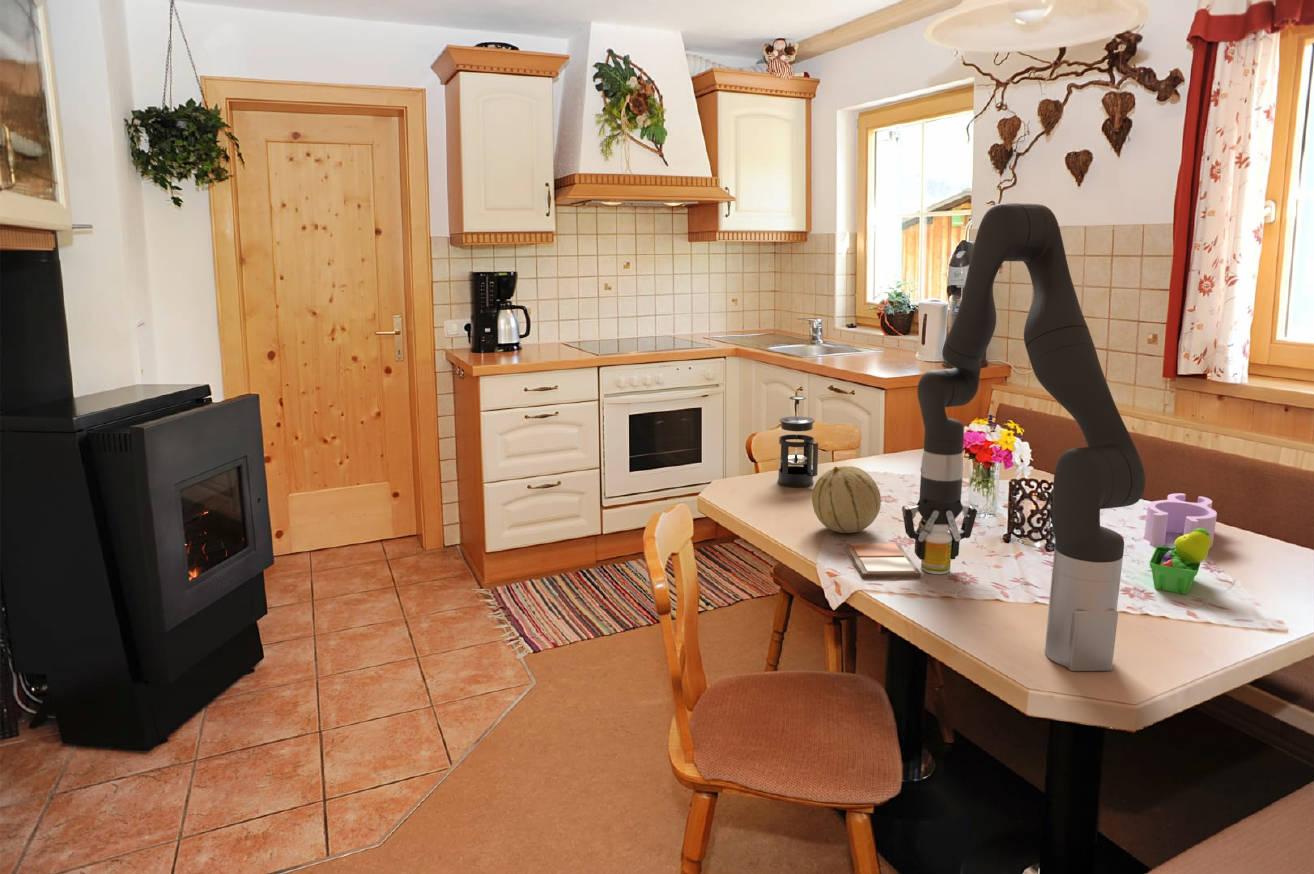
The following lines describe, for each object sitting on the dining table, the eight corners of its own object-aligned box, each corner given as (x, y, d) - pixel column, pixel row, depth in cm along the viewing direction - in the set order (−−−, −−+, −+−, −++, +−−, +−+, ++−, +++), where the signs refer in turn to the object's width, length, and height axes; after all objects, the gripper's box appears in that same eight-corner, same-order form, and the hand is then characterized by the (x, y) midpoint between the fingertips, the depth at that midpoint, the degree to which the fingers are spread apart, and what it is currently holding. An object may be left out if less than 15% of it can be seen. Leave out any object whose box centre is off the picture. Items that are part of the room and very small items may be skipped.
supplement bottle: (951, 575, 167) (954, 527, 164) (922, 574, 168) (925, 526, 165) (948, 565, 172) (951, 518, 170) (919, 563, 173) (922, 517, 171)
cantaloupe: (893, 533, 190) (897, 466, 187) (846, 547, 182) (849, 478, 179) (843, 516, 202) (845, 453, 199) (796, 528, 194) (798, 463, 191)
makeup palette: (920, 577, 166) (921, 571, 166) (862, 578, 166) (862, 571, 166) (898, 548, 181) (899, 542, 181) (845, 548, 182) (845, 542, 181)
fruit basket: (1153, 569, 168) (1160, 514, 166) (1207, 579, 163) (1215, 522, 161) (1145, 589, 159) (1152, 530, 157) (1202, 600, 154) (1210, 540, 152)
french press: (768, 482, 230) (769, 396, 225) (790, 475, 237) (792, 391, 231) (803, 491, 222) (805, 402, 217) (826, 483, 228) (828, 397, 223)
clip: (1156, 519, 198) (1160, 490, 196) (1221, 530, 190) (1225, 500, 188) (1136, 543, 183) (1140, 512, 181) (1206, 557, 175) (1210, 524, 173)
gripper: (908, 479, 162) (904, 565, 166) (986, 478, 162) (980, 565, 165) (898, 469, 169) (894, 551, 173) (972, 468, 169) (967, 550, 173)
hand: (936, 557), depth 169 cm, fingers closed on supplement bottle, 5 cm apart
